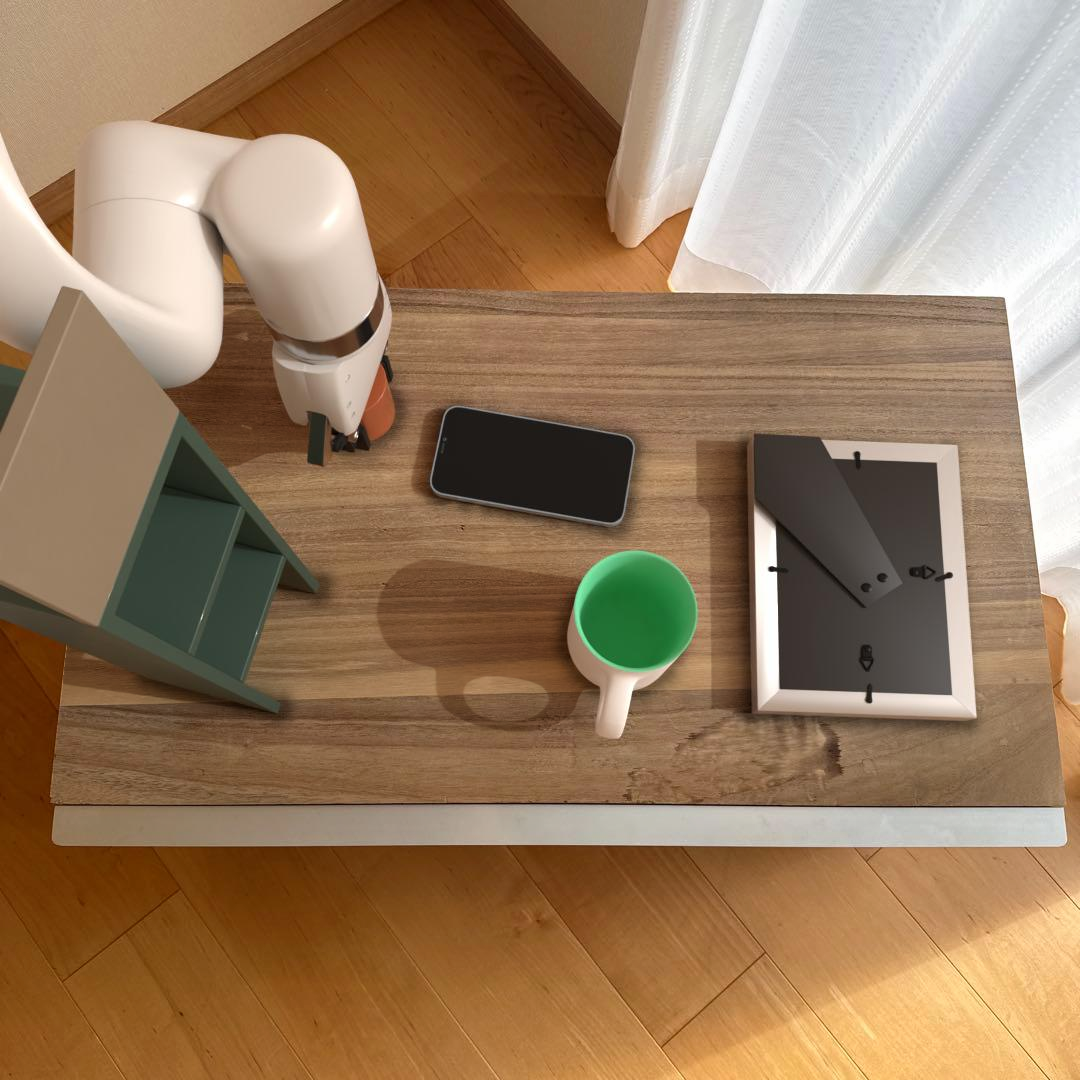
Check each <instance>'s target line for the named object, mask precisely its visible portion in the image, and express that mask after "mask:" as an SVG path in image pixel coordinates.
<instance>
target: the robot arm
mask: <svg viewBox="0 0 1080 1080" xmlns="http://www.w3.org/2000/svg"><path fill="white" fill-rule="evenodd" d="M73 193H74V194H73V219H72V220H73V223H72V228H73V229H72V230H73V231H72V232H73V233H72V248H71V249H72V250H71V251H72V252H71V254H70V253H69V252H68V251H67V250H66V249H65V248H64V247H63V246H62V245H61V243H60V242H59V241H58V239H57V238H56V237H55V236H54V234H53V233H52V232H51V230H50V229H49V228H48V227H47V226H46V223H45V222H44V220H43V219H42V218H41V216H40V214H39V213H38V212H37V210H36V208H35V206H34V205H33V203H32V202H31V200H30V198H29V196H28V194H27V192H26V190H25V188H24V186H23V185H22V182H21V180H20V178H19V175H18V174H17V171H16V169H15V166H14V165H13V162H12V160H11V157H10V155H9V152H8V149H7V147H6V144H5V140H4V138H3V135H2V133H1V132H0V342H3V343H5V344H6V345H8V346H9V347H12V348H14V349H17V350H18V351H19V350H20V351H22V352H25V353H26V354H29V355H32V356H33V353H34V351H35V349H36V346H37V344H38V342H39V339H40V337H41V335H42V332H43V330H44V327H45V325H46V323H47V320H48V318H49V316H50V313H51V311H52V308H53V306H54V304H55V301H56V299H57V297H58V294H59V292H60V290H61V287H62V286H66V287H70V288H74V289H78V290H82V291H83V292H84V293H85V294H86V295H87V297H88V298H89V299H90V300H91V302H92V303H93V304H94V305H95V307H96V308H97V309H98V310H99V311H100V313H101V314H102V315H103V316H104V318H105V319H106V320H107V321H108V323H109V324H110V325H111V326H112V328H113V329H114V330H115V331H116V333H117V334H118V335H119V336H120V337H121V339H122V340H123V341H124V342H125V344H126V345H127V346H128V347H129V349H130V350H131V351H132V352H133V354H134V355H135V356H136V357H137V359H138V360H139V361H140V362H141V363H142V365H143V366H144V367H145V368H146V370H147V371H148V372H149V373H150V375H151V376H152V377H153V378H154V380H155V381H156V382H157V383H158V385H159V386H160V387H161V388H162V389H163V390H166V389H167V390H168V389H173V388H179V387H181V386H186V385H189V384H190V383H192V382H196V381H197V380H198V379H200V378H202V377H203V376H204V375H205V374H207V372H208V371H210V369H211V368H212V367H213V365H214V363H215V362H216V360H217V358H218V356H219V354H220V350H221V345H222V342H223V331H224V330H223V329H224V256H225V255H226V256H228V257H230V258H231V259H232V261H233V263H234V265H235V266H236V268H237V271H238V272H239V275H240V277H241V279H242V281H243V282H244V285H245V286H246V288H247V290H248V292H249V294H250V296H251V298H252V300H253V302H254V304H255V306H256V308H257V310H258V313H259V314H260V316H261V318H262V321H263V322H264V324H265V326H266V328H267V330H268V332H269V335H270V336H271V338H272V340H273V344H272V349H271V357H272V367H273V374H274V378H275V382H276V386H277V389H278V393H279V395H280V398H281V400H282V403H283V407H284V408H285V410H286V413H287V415H288V417H289V418H290V419H291V421H292V422H293V423H295V424H297V425H300V426H303V427H305V426H307V425H308V423H309V427H308V443H307V457H306V461H307V462H306V463H307V464H309V465H312V466H318V467H320V468H326V467H327V465H328V464H329V462H330V461H331V459H332V458H333V456H334V453H337V454H339V453H340V452H345V453H349V454H350V453H351V454H354V453H355V451H356V449H357V450H362V451H364V452H370V449H371V446H372V443H371V441H370V440H369V437H368V434H367V432H366V429H365V426H363V425H361V424H359V423H360V420H361V418H362V415H363V412H364V409H365V406H366V404H367V401H368V398H369V395H370V392H371V389H372V386H373V383H374V380H375V377H376V374H377V371H378V368H379V365H380V363H381V365H382V366H383V368H384V370H385V373H386V377H387V380H388V384H389V385H390V383H392V382H393V379H394V372H393V369H392V364H391V361H390V358H389V355H386V353H387V350H388V347H389V336H390V333H391V328H392V322H393V312H392V306H391V302H390V299H389V294H388V292H387V280H383V279H382V278H381V275H380V273H379V272H378V269H377V263H376V261H375V256H374V252H373V248H372V244H371V241H370V240H371V239H370V237H369V233H368V228H367V224H366V221H365V217H364V213H363V208H362V205H361V204H362V203H361V200H360V197H359V196H360V195H359V193H358V189H357V186H356V183H355V181H354V178H353V176H352V173H351V171H350V169H349V168H348V166H347V165H346V163H345V162H344V161H343V160H342V159H341V157H340V156H339V155H338V154H337V153H335V151H333V150H332V149H330V148H329V147H328V146H326V145H325V144H324V143H322V142H321V141H319V140H316V139H313V138H311V137H309V136H305V135H300V134H295V133H294V134H293V133H275V134H269V135H265V136H261V137H258V138H256V139H253V140H251V139H246V138H239V137H232V136H226V135H220V134H219V135H218V134H216V133H215V134H213V133H209V132H204V131H199V130H194V129H189V128H186V127H185V128H184V127H179V126H173V125H169V124H164V123H157V122H153V121H148V120H143V119H131V120H115V121H109V122H105V123H102V124H99V125H97V126H96V127H94V128H92V129H91V130H90V131H88V133H86V134H85V136H84V137H83V139H82V140H81V142H80V144H79V145H78V149H77V151H76V159H75V166H74V191H73Z"/></svg>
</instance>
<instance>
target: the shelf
mask: <svg viewBox="0 0 1080 1080" xmlns="http://www.w3.org/2000/svg"><path fill="white" fill-rule="evenodd" d="M27 365H28V366H27V368H26V369H22V368H18V367H14V366H10V365H6V364H2V363H0V619H1V620H4V621H6V622H9V623H11V624H13V625H16V626H18V627H21V628H23V629H26V630H29V631H31V632H32V633H36V634H38V635H40V636H43V637H46V638H48V639H50V640H53V641H55V642H58V643H60V644H63V645H64V646H67V647H69V648H72V649H75V650H77V651H79V652H82V653H83V654H87V655H90V656H92V657H94V658H97V659H99V660H101V661H103V662H107V663H109V664H112V665H114V666H117V667H118V668H121V669H124V670H126V671H129V672H131V673H134V674H136V675H139V676H141V677H143V678H146V679H148V680H152V681H156V682H160V683H163V684H167V685H170V686H174V687H177V688H182V689H185V690H188V691H192V692H196V693H200V694H203V695H208V696H211V697H214V698H218V699H222V700H225V701H229V702H232V703H235V704H240V705H244V706H246V707H247V706H248V707H251V708H254V709H259V710H262V711H265V712H270V713H271V714H272V713H273V714H276V715H277V714H279V711H280V708H281V705H282V703H281V702H280V701H277V700H275V699H274V698H272V697H270V696H268V695H266V694H264V693H262V692H260V691H259V690H257V689H255V688H253V687H252V686H249V685H248V684H245V683H246V680H247V677H248V674H249V671H250V668H251V665H252V662H253V659H254V656H255V653H256V651H257V648H258V645H259V642H260V639H261V635H262V633H263V630H264V627H265V624H266V621H267V618H268V616H269V612H270V609H271V606H272V603H273V600H274V597H275V594H276V591H277V588H278V585H282V586H286V587H289V588H292V589H293V588H294V589H297V590H300V591H304V592H308V593H310V594H311V593H313V594H318V592H319V589H320V586H321V584H320V582H319V581H318V580H317V579H316V578H315V576H314V574H312V572H310V570H309V569H308V568H307V566H306V565H305V564H304V562H302V560H301V559H300V558H299V556H298V555H297V554H296V553H295V552H294V551H293V549H292V548H291V547H290V545H289V544H288V543H287V542H286V540H285V539H284V537H282V535H281V534H280V532H278V531H277V529H276V528H275V527H274V526H273V524H272V523H271V521H269V519H268V517H266V515H265V514H264V513H263V512H262V511H261V509H260V508H259V506H257V505H256V503H255V502H254V501H253V499H252V498H251V497H250V496H249V495H248V493H247V492H246V491H245V490H244V488H243V487H242V486H241V485H240V483H239V482H238V481H237V480H236V478H235V477H234V476H233V475H232V473H231V472H230V471H229V470H228V469H227V467H226V466H225V465H224V463H222V461H221V460H220V459H219V457H218V456H217V455H216V454H215V452H214V451H213V450H212V448H211V447H210V446H209V445H208V443H206V441H205V440H204V439H203V437H202V436H201V435H200V434H199V432H198V431H197V430H196V429H195V427H194V426H193V425H192V424H191V422H190V421H189V420H188V419H187V418H186V417H185V415H184V414H183V413H182V412H181V411H180V409H179V408H178V406H176V404H175V403H174V402H173V400H172V399H171V398H170V396H169V395H168V394H167V393H166V392H165V391H164V389H162V388H161V387H160V386H159V385H158V383H157V382H156V381H155V380H154V378H153V377H152V376H151V375H150V373H149V372H148V371H147V370H146V368H145V367H144V366H143V365H142V363H141V362H140V361H139V360H138V359H137V357H136V356H135V355H134V354H133V352H132V351H131V350H130V349H129V347H128V346H127V345H126V344H125V342H124V341H123V340H122V339H121V337H120V336H119V335H118V334H117V333H116V331H115V330H114V329H113V328H112V326H111V325H110V324H109V323H108V321H107V320H106V319H105V318H104V316H103V315H102V314H101V313H100V311H99V310H98V309H97V308H96V307H95V305H94V304H93V303H92V302H91V300H90V299H89V298H88V297H87V295H86V294H85V293H84V292H83V291H82V290H78V289H74V288H70V287H66V286H62V287H61V290H60V292H59V294H58V297H57V299H56V301H55V304H54V306H53V308H52V311H51V313H50V316H49V318H48V320H47V323H46V325H45V327H44V330H43V332H42V335H41V337H40V339H39V342H38V344H37V346H36V349H35V351H34V353H33V355H32V356H31V359H30V361H29V363H28V364H27Z"/></svg>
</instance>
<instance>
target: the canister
mask: <svg viewBox="0 0 1080 1080" xmlns="http://www.w3.org/2000/svg"><path fill="white" fill-rule="evenodd" d="M395 417H396V406H395V401H394V398H393V394H392V391H391V388H390V383H389V384H388V380H387V377H386V373H385V370H384V368H383V366H382V365H381V363H380V365H379V368H378V371H377V374H376V377H375V380H374V383H373V386H372V389H371V392H370V395H369V398H368V401H367V404H366V406H365V409H364V412H363V415H362V418H361V420H360V423H359V424H361V425H363V426H365V429H366V432H367V434H368V437H369V440H370V442H371V441H375V440H377V439H379V438H380V437H382V436H384V435H385V434H386V433H387V432H389V430H390V428H391V427H392V425H393V423H394V420H395Z"/></svg>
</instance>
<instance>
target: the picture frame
mask: <svg viewBox="0 0 1080 1080" xmlns="http://www.w3.org/2000/svg"><path fill="white" fill-rule="evenodd" d="M958 446H959V445H958V444H951V443H950V444H947V443H945V444H944V443H918V442H898V441H897V442H894V441H869V440H868V441H867V440H845V439H843V440H841V439H822V438H821V437H820V436H814V435H813V436H811V435H810V436H809V435H793V434H770V433H754V434H753V436H752V437H751V438H750V440H749V442H748V443H747V445H746V465H747V466H746V468H747V470H746V471H747V473H746V475H747V521H748V522H747V523H748V524H747V525H748V527H747V528H748V529H747V530H748V577H749V578H748V579H749V580H748V581H749V582H748V583H749V585H748V586H749V589H748V590H749V635H750V637H749V641H750V643H749V644H750V691H751V692H750V694H751V695H750V696H751V697H750V699H751V703H750V704H751V714H752V715H753V714H754V715H780V716H782V715H783V716H784V715H785V716H809V717H836V718H837V717H838V718H839V717H840V718H843V717H844V718H868V719H870V718H871V719H893V720H897V719H898V720H924V721H925V720H926V721H951V722H952V721H953V722H956V721H957V722H967V721H971V720H975V719H978V715H977V704H976V703H977V702H976V688H975V675H974V673H975V672H974V660H973V645H972V631H971V616H970V601H969V589H968V588H969V587H968V576H967V575H968V574H967V560H966V546H965V545H966V544H965V532H964V531H965V530H964V517H963V503H962V501H963V500H962V488H961V474H960V473H961V472H960V460H959V459H960V458H959V447H958Z"/></svg>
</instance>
